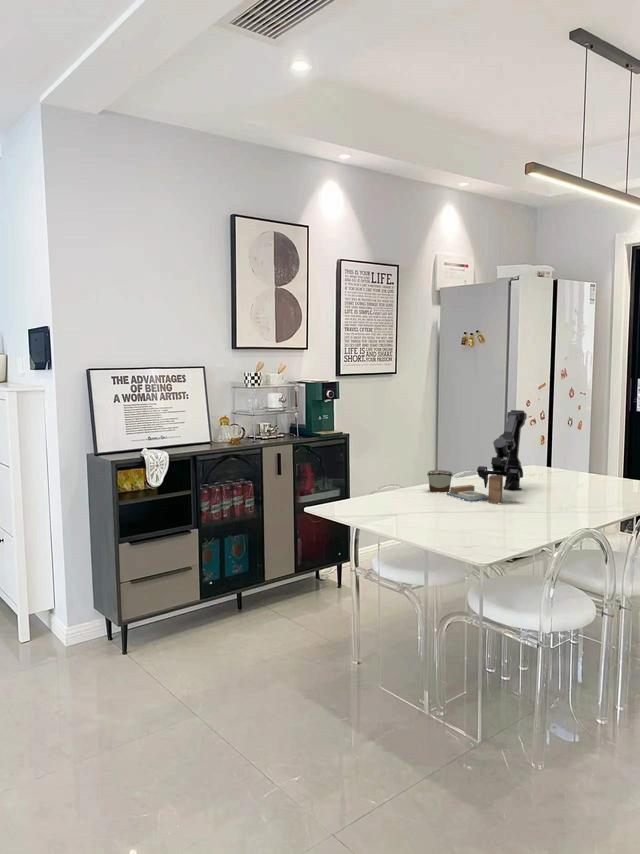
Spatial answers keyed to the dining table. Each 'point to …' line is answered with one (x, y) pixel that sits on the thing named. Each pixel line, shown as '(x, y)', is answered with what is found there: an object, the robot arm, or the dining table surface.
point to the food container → (439, 480)
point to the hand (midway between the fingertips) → (494, 488)
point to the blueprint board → (466, 493)
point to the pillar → (495, 489)
